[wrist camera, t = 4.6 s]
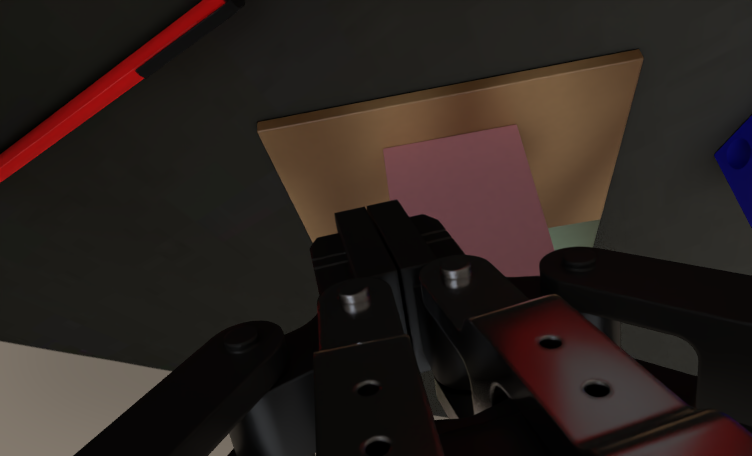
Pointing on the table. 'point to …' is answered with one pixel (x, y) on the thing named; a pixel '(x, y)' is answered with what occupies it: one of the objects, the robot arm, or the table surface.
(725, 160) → the blue curved block
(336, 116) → the multicoloured piece
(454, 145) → the pink block
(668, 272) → the robot arm
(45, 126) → the pen
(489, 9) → the table surface
